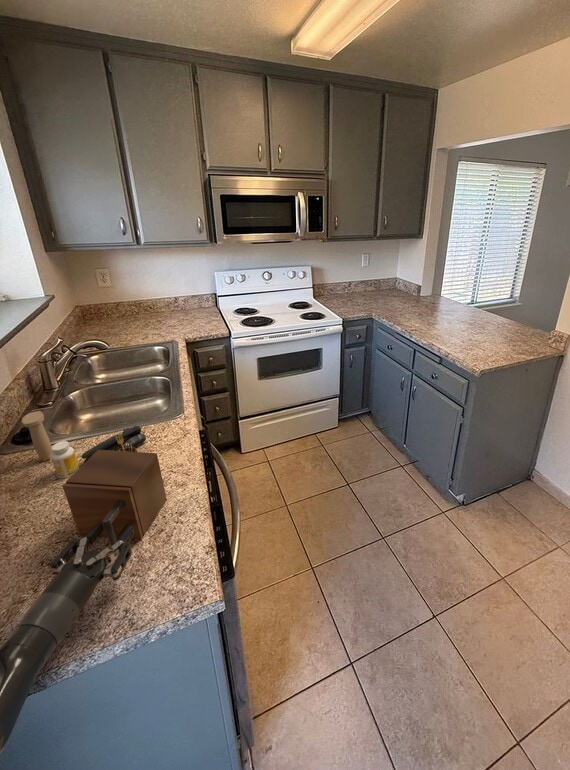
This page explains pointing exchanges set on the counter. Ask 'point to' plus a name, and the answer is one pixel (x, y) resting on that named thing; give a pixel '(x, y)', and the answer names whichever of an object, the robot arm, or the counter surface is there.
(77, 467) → the supplement bottle
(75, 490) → the cupboard door
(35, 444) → the handle
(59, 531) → the counter surface
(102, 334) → the counter surface
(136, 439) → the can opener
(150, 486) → the cupboard
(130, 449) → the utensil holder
